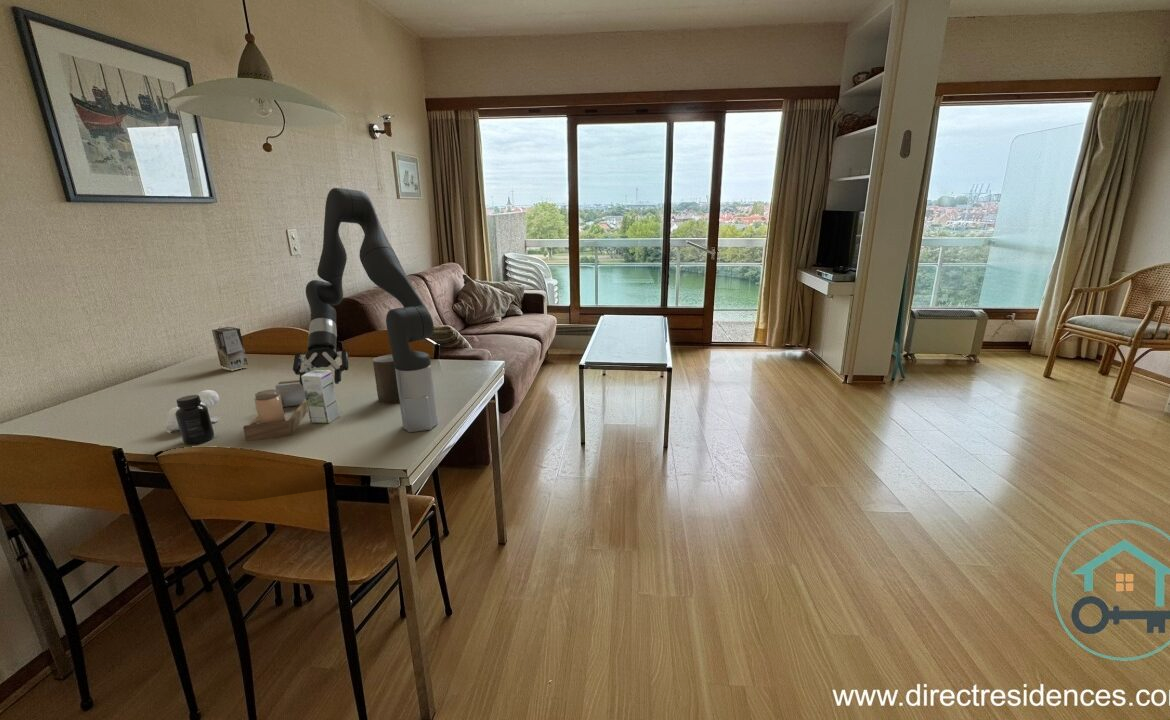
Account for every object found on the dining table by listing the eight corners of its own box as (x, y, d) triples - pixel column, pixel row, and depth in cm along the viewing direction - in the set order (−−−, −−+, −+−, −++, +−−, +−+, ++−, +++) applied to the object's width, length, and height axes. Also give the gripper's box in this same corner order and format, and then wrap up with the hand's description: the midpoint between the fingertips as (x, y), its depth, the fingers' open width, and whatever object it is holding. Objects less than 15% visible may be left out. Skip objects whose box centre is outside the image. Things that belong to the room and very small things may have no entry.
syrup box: (340, 416, 146) (332, 369, 141) (328, 424, 140) (319, 375, 136) (322, 415, 146) (313, 369, 142) (309, 423, 140) (300, 375, 136)
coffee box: (249, 367, 196) (240, 328, 192) (231, 372, 191) (221, 331, 187) (238, 364, 201) (229, 326, 196) (220, 368, 196) (211, 329, 191)
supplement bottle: (220, 433, 135) (210, 392, 132) (203, 445, 129) (191, 402, 125) (195, 434, 135) (184, 393, 132) (176, 446, 128) (164, 403, 125)
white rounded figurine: (197, 442, 137) (234, 405, 149) (179, 421, 132) (219, 384, 144) (171, 441, 139) (210, 404, 150) (152, 419, 133) (194, 383, 145)
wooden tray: (290, 435, 133) (286, 414, 131) (246, 440, 130) (241, 419, 129) (318, 395, 163) (315, 378, 161) (283, 399, 160) (279, 381, 159)
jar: (283, 433, 134) (275, 395, 131) (258, 436, 133) (249, 397, 130) (289, 425, 140) (282, 388, 137) (265, 427, 138) (257, 390, 135)
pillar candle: (405, 403, 154) (399, 357, 150) (373, 404, 154) (367, 358, 150) (414, 393, 163) (408, 349, 159) (384, 394, 163) (378, 350, 159)
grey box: (307, 404, 155) (303, 383, 153) (279, 407, 153) (275, 385, 151) (312, 397, 161) (308, 376, 159) (285, 399, 159) (281, 379, 157)
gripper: (292, 331, 144) (288, 381, 137) (345, 328, 147) (344, 375, 140) (300, 345, 150) (297, 392, 143) (351, 341, 154) (350, 387, 147)
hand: (320, 384), depth 142 cm, fingers open, 8 cm apart
